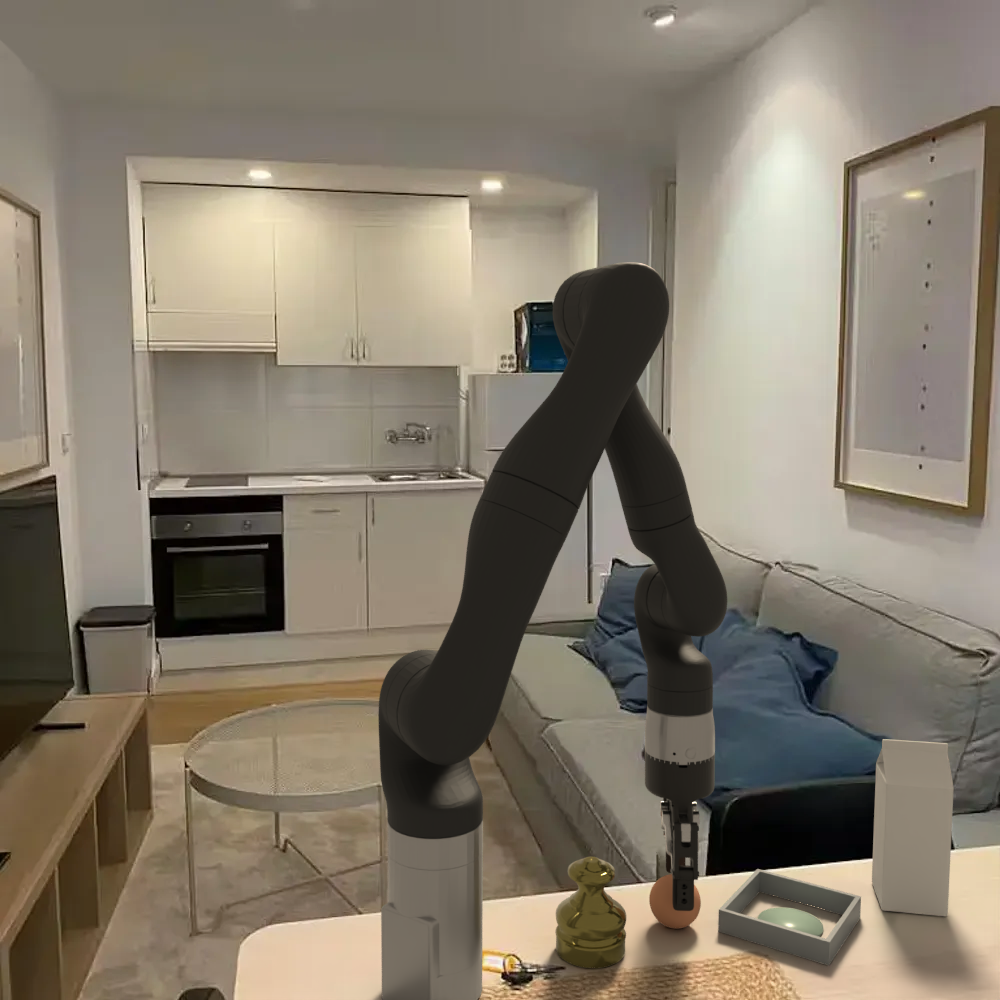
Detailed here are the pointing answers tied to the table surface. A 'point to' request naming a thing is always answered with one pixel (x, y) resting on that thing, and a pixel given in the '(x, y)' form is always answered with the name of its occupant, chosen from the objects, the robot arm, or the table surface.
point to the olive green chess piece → (590, 918)
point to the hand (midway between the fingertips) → (679, 889)
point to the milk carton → (912, 827)
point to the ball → (671, 905)
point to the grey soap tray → (790, 916)
